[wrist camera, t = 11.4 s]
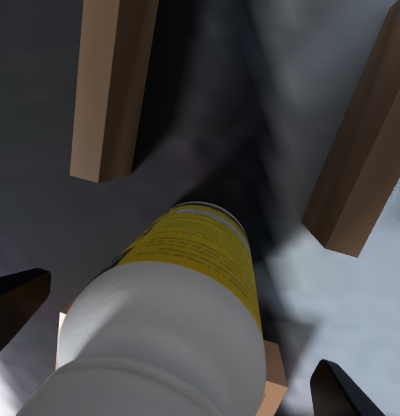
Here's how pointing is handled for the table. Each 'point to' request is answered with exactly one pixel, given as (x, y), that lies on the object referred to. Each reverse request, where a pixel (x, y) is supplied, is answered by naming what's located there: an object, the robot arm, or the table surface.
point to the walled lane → (336, 162)
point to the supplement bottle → (164, 327)
